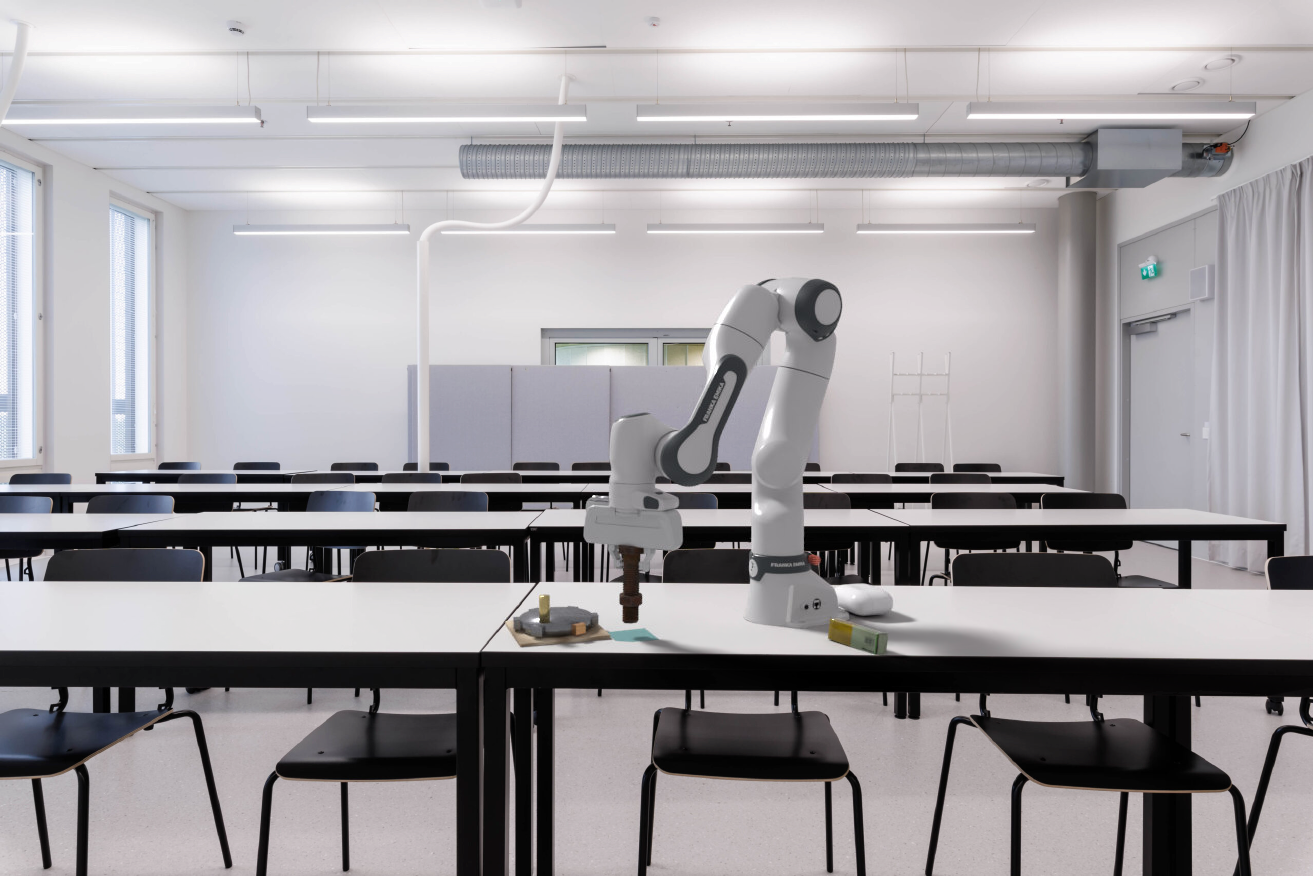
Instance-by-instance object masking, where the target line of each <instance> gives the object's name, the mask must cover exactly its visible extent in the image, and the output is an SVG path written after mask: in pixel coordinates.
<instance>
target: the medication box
mask: <svg viewBox="0 0 1313 876" xmlns="http://www.w3.org/2000/svg"><path fill="white" fill-rule="evenodd" d="M888 638H889V633H887V632H884V631H882V630H881V631H880V630H877V629H875V628H871V627H868V626H864V625H861V624H858V623H855V622H852V621H850V620H846V621H845V620H842V619H830V624H828V635H827V640H831V641H833V642H836V643H839V644H842V645H845V646H846V647H850V648H853V649H856V650H858V651H862V652H865V653H868V654H872V655H875V656H880V655H885V654H887V650H888V640H889V639H888Z"/></svg>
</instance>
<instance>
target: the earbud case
mask: <svg viewBox="0 0 1313 876" xmlns="http://www.w3.org/2000/svg"><path fill="white" fill-rule="evenodd" d="M834 589H835V591H836V594H837V598H838V605H839V608H841V609H843V610H845V611H846V612H848V613H852V614H854V615H857V616H876V615H884V614H887V613H889V612H891V611H892V609H894V600H893V597H892V595H891V594H890V593H889V592H887V591H886V590H884V589H883V588H882V589H881V588H879V587H876V586H874V585H871V584H867V583H849V584H841V585H838V586H836V587H834Z"/></svg>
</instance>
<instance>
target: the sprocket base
mask: <svg viewBox="0 0 1313 876" xmlns="http://www.w3.org/2000/svg"><path fill="white" fill-rule="evenodd" d="M504 624H505V627H506V628H507V630H508V631H509V633H510V634H511V636H512V637H513V639H514V640H515V642H516V643H517V645H518V646H519V648H524V646H526V647H535V645H537V646H546V645H545V644H548V645H558V644H571V643H579V642H589V641H600V640H611V637H610V634H609V633H608V632H609V631H607V630H605V628H603V626H601V625H600V624H599V623H598V624H596V625H592V626H591V628H589V629H588V630H586V633H583V634H579V635H574V634H570V635H561V636H543V637H535V636H531V634H528V633H525V632H523V631H522V630H521V629H514V628H513V619H512V620H505V623H504Z"/></svg>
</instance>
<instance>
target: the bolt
mask: <svg viewBox="0 0 1313 876" xmlns="http://www.w3.org/2000/svg"><path fill="white" fill-rule="evenodd" d="M618 552H619V554H620V555H622V559H623V567H624V568H622V570H623V571H622V592H620V593H619V599H618V601H619V605H620V606H622V615H621V616H622V618H621V621H622V622H623V624H628V625H630V624H636V623H638V622H639V620H640V619H639V612H640V611H639V610H640V609H639V608H640V606H642V604H643V594H642V593H641V592H640V572H641V571H639V562H641V555H645V554H644V548H639V547H635V546H626V545H619V546H618Z"/></svg>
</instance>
